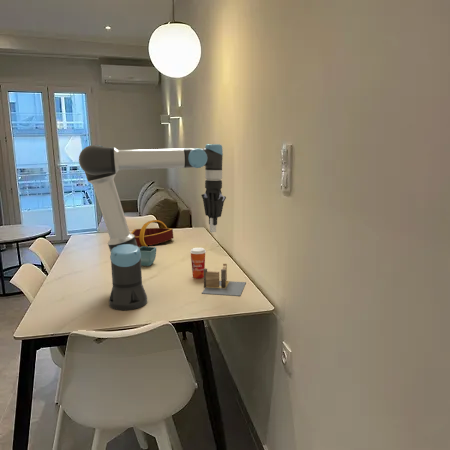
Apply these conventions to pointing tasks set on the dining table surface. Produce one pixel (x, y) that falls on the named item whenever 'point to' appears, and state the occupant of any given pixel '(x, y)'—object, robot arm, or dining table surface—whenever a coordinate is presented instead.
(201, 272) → the paper cup
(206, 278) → the fixed fence panel and posts
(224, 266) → the hinged fence panel
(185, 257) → the dining table surface
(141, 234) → the decorative basket
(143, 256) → the flower pot
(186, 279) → the dining table surface
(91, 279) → the dining table surface
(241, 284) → the board
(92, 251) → the dining table surface
